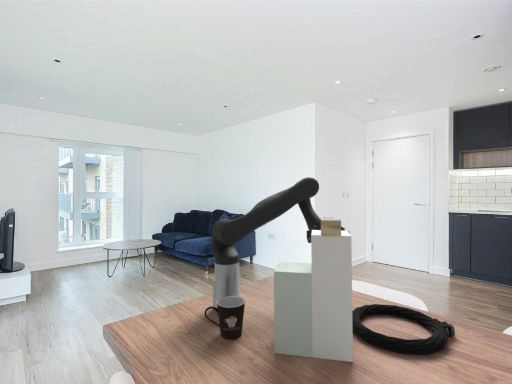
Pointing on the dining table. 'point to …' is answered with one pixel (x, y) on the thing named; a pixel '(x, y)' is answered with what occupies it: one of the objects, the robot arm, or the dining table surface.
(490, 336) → the dining table surface
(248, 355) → the dining table surface
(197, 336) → the dining table surface
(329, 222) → the block
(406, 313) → the cable lock
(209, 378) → the dining table surface
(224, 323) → the coffee mug
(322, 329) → the riser
